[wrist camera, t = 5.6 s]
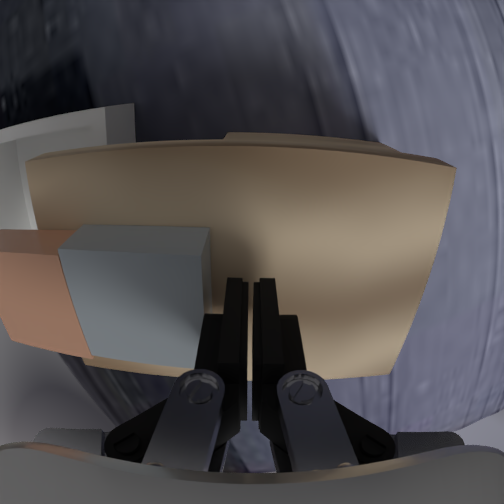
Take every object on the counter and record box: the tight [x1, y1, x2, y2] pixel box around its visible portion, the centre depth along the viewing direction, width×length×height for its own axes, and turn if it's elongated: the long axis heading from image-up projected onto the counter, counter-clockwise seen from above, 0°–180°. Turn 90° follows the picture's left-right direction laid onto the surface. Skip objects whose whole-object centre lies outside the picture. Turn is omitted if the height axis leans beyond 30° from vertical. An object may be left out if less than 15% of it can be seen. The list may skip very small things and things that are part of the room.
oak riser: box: [25, 132, 456, 381], centre depth 16 cm, size 11×16×8 cm, turn 89°
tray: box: [0, 103, 136, 230], centre depth 17 cm, size 14×10×4 cm
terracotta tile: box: [0, 229, 94, 359], centre depth 11 cm, size 5×5×2 cm
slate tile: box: [58, 224, 213, 369], centre depth 11 cm, size 5×5×2 cm
